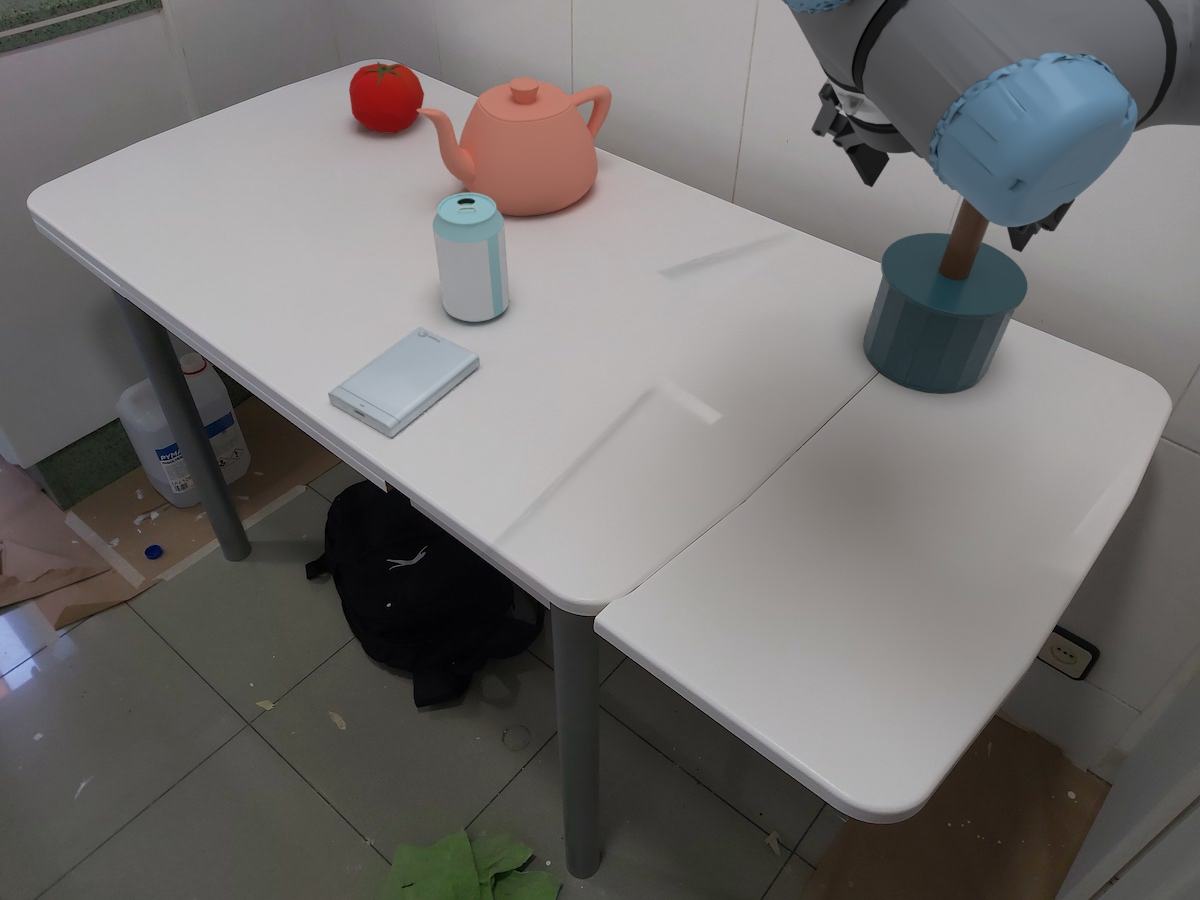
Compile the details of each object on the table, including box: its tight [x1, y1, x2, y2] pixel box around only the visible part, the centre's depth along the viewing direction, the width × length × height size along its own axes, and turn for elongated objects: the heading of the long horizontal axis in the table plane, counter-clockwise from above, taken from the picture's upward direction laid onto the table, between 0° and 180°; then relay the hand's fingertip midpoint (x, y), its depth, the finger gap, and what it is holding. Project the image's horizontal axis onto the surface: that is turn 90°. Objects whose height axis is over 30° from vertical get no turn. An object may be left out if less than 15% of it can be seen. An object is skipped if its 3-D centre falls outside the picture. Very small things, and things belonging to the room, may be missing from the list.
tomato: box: [348, 60, 425, 134], centre depth 120 cm, size 9×10×8 cm
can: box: [432, 192, 510, 323], centre depth 91 cm, size 7×7×12 cm
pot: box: [862, 275, 1016, 394], centre depth 87 cm, size 12×12×10 cm
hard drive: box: [327, 326, 481, 438], centre depth 85 cm, size 2×8×12 cm
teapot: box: [417, 76, 613, 217], centre depth 107 cm, size 25×17×13 cm
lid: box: [880, 197, 1028, 319], centre depth 81 cm, size 13×13×9 cm
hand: (948, 202), depth 72 cm, fingers open, 13 cm apart
